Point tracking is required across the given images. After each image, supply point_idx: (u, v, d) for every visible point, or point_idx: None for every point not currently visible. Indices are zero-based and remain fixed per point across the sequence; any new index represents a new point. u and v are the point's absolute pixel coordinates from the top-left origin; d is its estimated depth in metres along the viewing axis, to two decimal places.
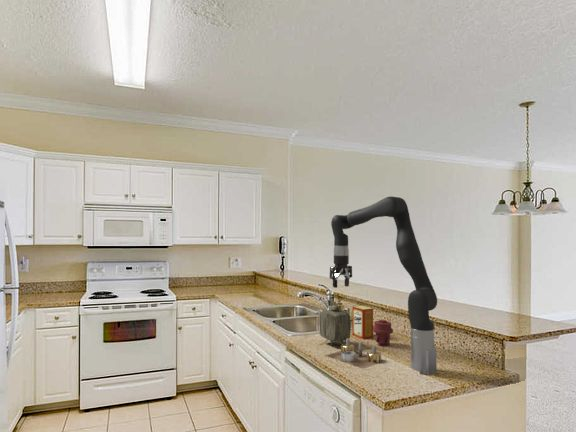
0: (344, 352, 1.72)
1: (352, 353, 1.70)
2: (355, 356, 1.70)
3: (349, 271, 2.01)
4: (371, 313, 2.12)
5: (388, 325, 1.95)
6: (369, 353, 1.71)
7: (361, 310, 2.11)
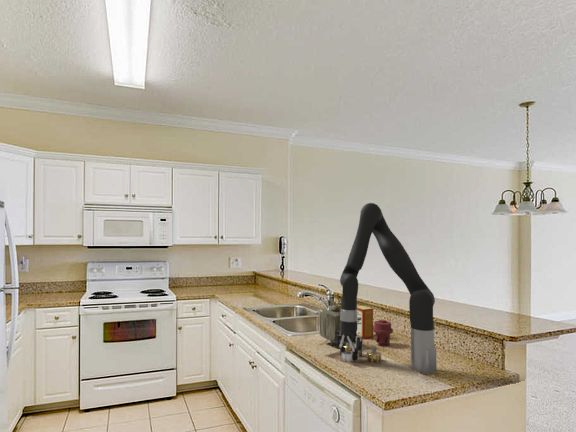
0: (344, 352, 1.72)
1: None
2: None
3: (340, 337, 1.76)
4: (371, 313, 2.12)
5: (388, 325, 1.95)
6: (369, 353, 1.71)
7: (361, 310, 2.11)
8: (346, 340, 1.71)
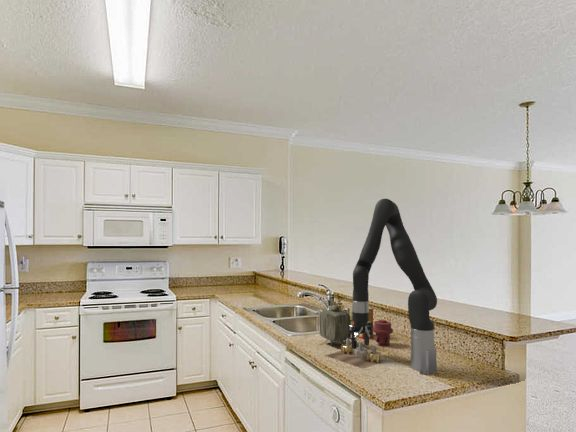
0: (360, 350, 1.75)
1: None
2: None
3: None
4: (371, 313, 2.12)
5: (388, 325, 1.95)
6: (369, 353, 1.71)
7: None
8: (361, 332, 1.75)
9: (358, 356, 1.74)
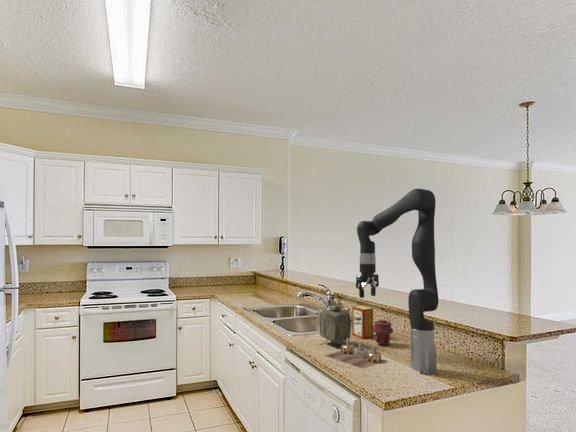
0: (360, 350, 1.75)
1: None
2: None
3: None
4: (371, 313, 2.12)
5: (388, 325, 1.95)
6: (369, 353, 1.71)
7: (361, 310, 2.11)
8: (368, 282, 1.86)
9: (358, 356, 1.74)
